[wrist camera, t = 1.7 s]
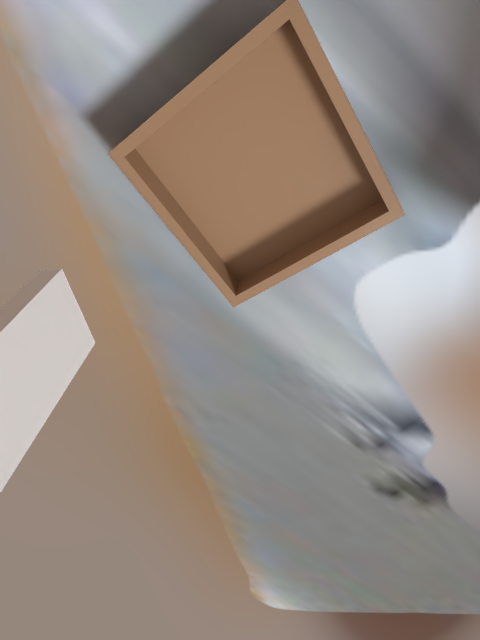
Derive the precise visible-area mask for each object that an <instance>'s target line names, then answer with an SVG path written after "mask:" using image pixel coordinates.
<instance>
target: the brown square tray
mask: <svg viewBox="0 0 480 640" xmlns="http://www.w3.org/2000/svg"><path fill="white" fill-rule="evenodd" d="M108 155H109V156H110V157H111V158H112V159H113V161H114V162H115V163H116V164H117V166H118V167H119V168H120V169H121V170H122V172H123V173H124V174H125V175H126V177H127V178H128V179H129V180H130V181H131V183H132V184H133V185H134V186H135V188H136V189H137V190H138V191H139V192H140V194H141V195H142V196H143V197H144V199H145V200H146V201H147V202H148V203H149V205H150V206H151V207H152V208H153V210H154V211H155V212H156V213H157V214H158V216H159V217H160V218H161V219H162V220H163V222H164V223H165V224H166V225H167V227H168V228H169V229H170V230H171V231H172V233H173V234H174V235H175V236H176V238H177V239H178V240H179V241H180V242H181V244H182V245H183V246H184V247H185V249H186V250H187V251H188V252H189V253H190V255H191V256H192V257H193V258H194V260H195V261H196V262H197V263H198V264H199V266H200V267H201V268H202V269H203V271H204V272H205V273H206V274H207V275H208V277H209V278H210V279H211V280H212V282H213V283H214V284H215V285H216V286H217V288H218V289H219V290H220V291H221V293H222V294H223V295H224V296H225V297H226V299H227V300H228V301H229V302H230V304H231V305H232V306H233V307H235V306H237V305H239V304H240V303H242V302H244V301H246V300H248V299H250V298H252V297H253V296H255V295H257V294H259V293H261V292H263V291H265V290H266V289H268V288H270V287H272V286H274V285H276V284H278V283H279V282H281V281H283V280H285V279H287V278H289V277H290V276H292V275H294V274H296V273H298V272H300V271H302V270H303V269H305V268H307V267H309V266H311V265H313V264H315V263H316V262H318V261H320V260H322V259H324V258H326V257H327V256H329V255H331V254H333V253H335V252H337V251H339V250H340V249H342V248H344V247H346V246H348V245H350V244H352V243H353V242H355V241H357V240H359V239H361V238H363V237H365V236H366V235H368V234H370V233H372V232H374V231H376V230H377V229H379V228H381V227H383V226H385V225H387V224H389V223H390V222H392V221H394V220H396V219H398V218H400V217H402V216H403V215H405V213H404V211H403V209H402V207H401V205H400V203H399V201H398V199H397V197H396V195H395V193H394V191H393V189H392V187H391V185H390V183H389V181H388V179H387V177H386V175H385V173H384V171H383V169H382V167H381V165H380V163H379V161H378V159H377V157H376V155H375V153H374V151H373V149H372V147H371V145H370V143H369V141H368V139H367V137H366V135H365V133H364V131H363V129H362V127H361V125H360V123H359V121H358V119H357V117H356V115H355V113H354V111H353V109H352V107H351V105H350V103H349V101H348V99H347V97H346V95H345V93H344V91H343V89H342V87H341V85H340V83H339V81H338V79H337V77H336V75H335V73H334V71H333V69H332V67H331V65H330V63H329V61H328V59H327V57H326V55H325V53H324V51H323V49H322V47H321V45H320V43H319V41H318V39H317V37H316V35H315V33H314V31H313V29H312V27H311V25H310V23H309V21H308V19H307V17H306V15H305V13H304V11H303V9H302V7H301V5H300V3H299V1H298V0H286V1H285V2H284V3H282V4H281V5H280V6H279V7H278V8H277V9H275V10H274V11H273V12H272V13H271V14H270V15H268V16H267V17H266V18H265V19H264V20H263V21H261V22H260V23H259V24H258V25H257V26H256V27H255V28H253V29H252V30H251V31H250V32H249V33H248V34H246V35H245V36H244V37H243V38H242V39H241V40H239V41H238V42H237V43H236V44H235V45H234V46H232V47H231V48H230V49H229V50H228V51H227V52H225V53H224V54H223V55H222V56H221V57H220V58H218V59H217V60H216V61H215V62H214V63H213V64H212V65H210V66H209V67H208V68H207V69H206V70H205V71H203V72H202V73H201V74H200V75H199V76H198V77H196V78H195V79H194V80H193V81H192V82H191V83H189V84H188V85H187V86H186V87H185V88H184V89H182V90H181V91H180V92H179V93H178V94H177V95H175V96H174V97H173V98H172V99H171V100H170V101H169V102H167V103H166V104H165V105H164V106H163V107H162V108H160V109H159V110H158V111H157V112H156V113H155V114H153V115H152V116H151V117H150V118H149V119H148V120H146V121H145V122H144V123H143V124H142V125H141V126H139V127H138V128H137V129H136V130H135V131H134V132H132V133H131V134H130V135H129V136H128V137H127V138H126V139H124V140H123V141H122V142H121V143H120V144H119V145H117V146H116V147H115V148H114V149H113V150H112V151H110V152H109V153H108Z"/></svg>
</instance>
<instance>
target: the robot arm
mask: <svg viewBox="0 0 480 640" xmlns="http://www.w3.org/2000/svg"><path fill="white" fill-rule="evenodd" d="M94 344H95V341H94V339H93V337H92V334H91V332H90V330H89V328H88V325H87V323H86V321H85V319H84V317H83V314H82V312H81V310H80V308H79V305H78V303H77V301H76V299H75V297H74V294H73V292H72V290H71V288H70V286H69V283H68V281H67V279H66V277H65V275H64V272H63V270H62V269H54V270H44V271H38V272H37V273H36V274H35V275H34V276H33V277H32V278H30V279H29V280H28V281H27V282H26V283H25V284H24V285H23V286H22V287H21V288H20V289H19V290H18V291H17V292H16V293H15V294H14V295H13V296H12V297H10V298H9V299H8V300H7V301H6V302H5V303H4V304H3V305H2V306H1V307H0V492H1V491H2V489H3V488H4V486H5V484H6V483H7V481H8V480H9V478H10V477H11V475H12V474H13V472H14V470H15V468H16V467H17V466H18V464H19V462H20V461H21V459H22V458H23V456H24V455H25V453H26V451H27V450H28V448H29V447H30V445H31V443H32V442H33V440H34V439H35V437H36V435H37V434H38V432H39V431H40V429H41V428H42V426H43V424H44V423H45V421H46V420H47V418H48V417H49V415H50V414H51V412H52V410H53V409H54V407H55V406H56V404H57V403H58V401H59V399H60V398H61V396H62V394H63V393H64V391H65V390H66V388H67V387H68V385H69V384H70V382H71V380H72V379H73V377H74V376H75V374H76V373H77V371H78V369H79V368H80V366H81V365H82V363H83V361H84V360H85V358H86V357H87V355H88V354H89V352H90V350H91V349H92V347H93V346H94Z"/></svg>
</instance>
